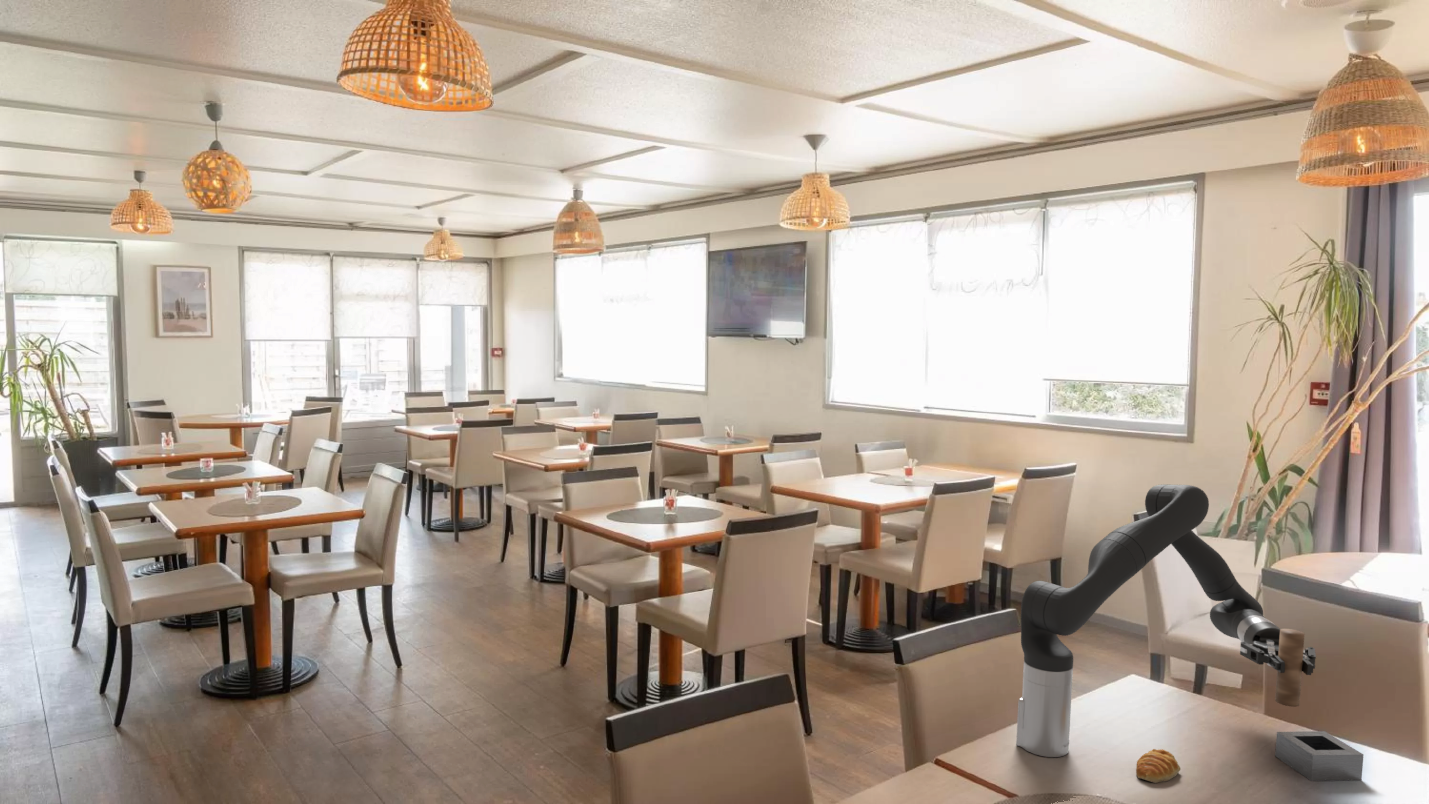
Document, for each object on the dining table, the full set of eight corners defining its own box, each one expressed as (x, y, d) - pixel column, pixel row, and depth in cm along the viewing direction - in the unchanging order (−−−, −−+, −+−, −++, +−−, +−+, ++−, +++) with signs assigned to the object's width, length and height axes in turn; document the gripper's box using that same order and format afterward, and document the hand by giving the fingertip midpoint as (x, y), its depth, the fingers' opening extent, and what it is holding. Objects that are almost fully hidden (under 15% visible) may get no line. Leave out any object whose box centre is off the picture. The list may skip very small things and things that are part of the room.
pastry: (1163, 790, 168) (1164, 770, 168) (1126, 777, 173) (1127, 757, 173) (1182, 773, 175) (1183, 753, 175) (1145, 761, 180) (1146, 742, 180)
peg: (1274, 702, 178) (1278, 632, 176) (1276, 696, 181) (1281, 627, 179) (1298, 708, 175) (1303, 637, 174) (1300, 701, 178) (1305, 631, 177)
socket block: (1311, 780, 173) (1313, 755, 172) (1275, 756, 183) (1276, 731, 182) (1361, 779, 173) (1363, 754, 173) (1322, 755, 183) (1324, 731, 183)
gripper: (1226, 618, 192) (1256, 646, 176) (1302, 623, 189) (1339, 653, 173) (1224, 652, 193) (1253, 684, 176) (1299, 658, 190) (1336, 691, 173)
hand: (1296, 668), depth 175 cm, fingers closed on peg, 4 cm apart
